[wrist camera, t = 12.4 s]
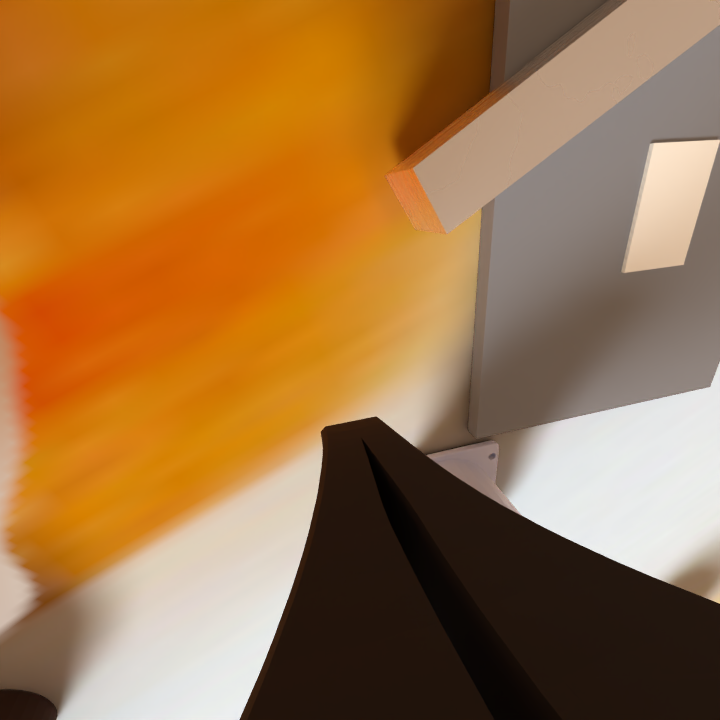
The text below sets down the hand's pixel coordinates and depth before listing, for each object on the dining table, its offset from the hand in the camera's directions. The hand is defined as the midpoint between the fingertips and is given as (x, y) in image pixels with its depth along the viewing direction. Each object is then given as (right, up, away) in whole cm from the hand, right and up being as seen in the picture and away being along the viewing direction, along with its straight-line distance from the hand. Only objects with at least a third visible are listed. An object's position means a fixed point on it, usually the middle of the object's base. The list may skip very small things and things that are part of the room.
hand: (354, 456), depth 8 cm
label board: (+15, +10, +11) cm, 21 cm away
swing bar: (+9, +14, +6) cm, 18 cm away
